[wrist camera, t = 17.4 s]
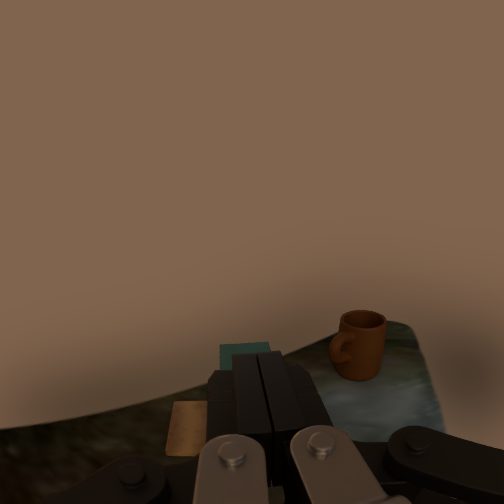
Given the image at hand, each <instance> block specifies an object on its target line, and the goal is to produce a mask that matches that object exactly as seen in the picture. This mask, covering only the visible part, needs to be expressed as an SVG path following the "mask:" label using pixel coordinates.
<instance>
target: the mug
mask: <svg viewBox="0 0 504 504" xmlns="http://www.w3.org/2000/svg"><path fill="white" fill-rule="evenodd" d="M386 325H387V321H386V318H385V317H384V316H383V315H381V314H379V313H376V312H373V311H367V310H355V311H350V312H347V313H345V314H343V315H342V316H341V319H340V325H339V333H338V334H337V335H336V336H335V337H334V338H333V339H332V341H331V343H330V346H329V358H330V360H331V361H332V362H333V363H334V364H336V370H337V372H338V373H339V374H340V375H341V376H342V377H344V378H346V379H349V380H354V381H363V380H368V379H371V378H373V377H374V376H375V375H376V374H377V373H378V372H379V369H380V365H381V360H382V354H383V349H384V343H385V337H386Z"/></svg>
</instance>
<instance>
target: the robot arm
mask: <svg viewBox="0 0 504 504" xmlns="http://www.w3.org/2000/svg"><path fill="white" fill-rule="evenodd" d="M231 355H232V370H215V371H214V373H213V374H212V375H211V377H210V378H209V380H208V391H207V392H208V394H207V423H206V443H205V445H204V446H203V447H202V449H201V451H200V453H199V454H197V455H196V456H195V457H193V458H192V459H190V460H187V461H185V462H182V463H178V464H173V465H168V466H163V467H162V466H161V465H160V464H159V463H158V462H157V461H155V460H154V459H152V458H149V457H147V456H143V455H126V456H122V457H119V458H116V459H115V460H113V461H111V462H110V463H108V464H106V465H105V466H103V467H101V468H100V469H98V470H97V471H95V472H93V473H92V474H90V475H88V476H87V477H85V478H83V479H82V480H80V481H78V482H76V483H75V484H73V485H71V486H69V487H68V488H66V489H64V490H62V491H61V492H59V493H57V494H55V495H53V496H51V497H50V498H48V499H46V500H44V501H42V502H40V503H38V504H269V500H268V487H270V483H271V480H272V485H273V486H282V485H283V489H284V494H285V502H284V504H504V450H501V449H497V448H493V447H490V446H486V445H482V444H478V443H475V442H471V441H468V440H464V439H461V438H457V437H454V436H451V435H448V434H445V433H442V432H439V431H435V430H432V429H429V428H426V427H422V426H407V427H404V428H401V429H399V430H397V431H396V432H394V433H393V434H392V435H391V437H390V439H389V441H388V442H358V441H353V440H351V438H350V437H349V436H348V435H347V434H346V433H345V432H344V431H342V430H340V429H338V428H336V427H334V426H333V424H332V422H331V420H330V417H329V415H328V413H327V411H326V409H325V407H324V404H323V402H322V400H321V398H320V396H319V394H318V392H317V389H316V387H315V385H314V384H313V381H312V379H311V377H310V374H309V372H307V371H306V370H305V369H303V368H302V367H301V366H299V365H298V364H296V365H285V363H284V360H283V357H282V354H281V352H280V351H269V352H257V353H256V355H255V353H240V354H231ZM424 488H425V489H424ZM427 489H428V490H427ZM430 490H431V491H430ZM433 491H434V492H433ZM436 492H437V493H436ZM439 493H440V494H439ZM442 494H443V495H442ZM445 495H446V496H445ZM448 496H449V497H448ZM451 497H452V498H451ZM454 498H456V499H454Z"/></svg>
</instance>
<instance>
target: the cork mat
mask: <svg viewBox="0 0 504 504" xmlns="http://www.w3.org/2000/svg"><path fill="white" fill-rule="evenodd" d="M206 423H207V401H174V404H173V409H172V415H171V421H170V426H169V432H168V438H167V444H166V450H165V451H166V454H167V456H196V455H197V454H199V453H200V451H201V449H202V447H203V446H204V445H205V443H206Z"/></svg>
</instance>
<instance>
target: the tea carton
mask: <svg viewBox="0 0 504 504" xmlns="http://www.w3.org/2000/svg"><path fill="white" fill-rule="evenodd" d="M269 351H271V350H270V346H269V343H268V342H257V343H242V344H224V345H220V370H232V355H231V354H240V353H255V355H256V353H257V352H269Z"/></svg>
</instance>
